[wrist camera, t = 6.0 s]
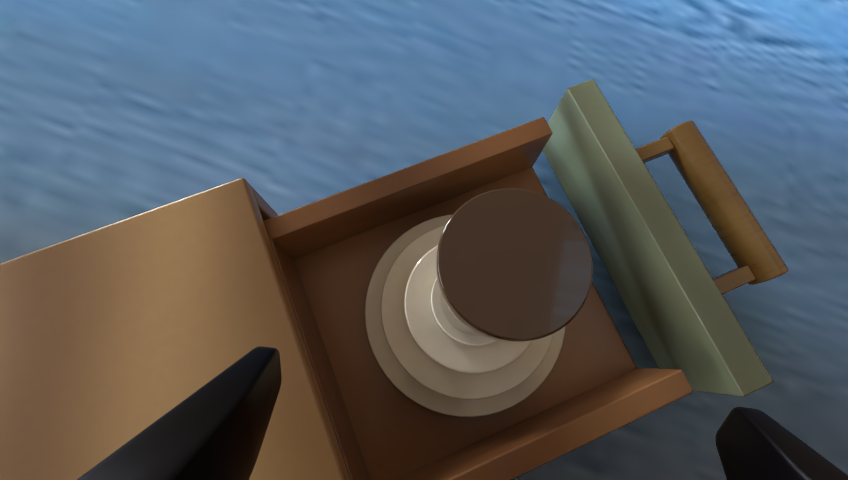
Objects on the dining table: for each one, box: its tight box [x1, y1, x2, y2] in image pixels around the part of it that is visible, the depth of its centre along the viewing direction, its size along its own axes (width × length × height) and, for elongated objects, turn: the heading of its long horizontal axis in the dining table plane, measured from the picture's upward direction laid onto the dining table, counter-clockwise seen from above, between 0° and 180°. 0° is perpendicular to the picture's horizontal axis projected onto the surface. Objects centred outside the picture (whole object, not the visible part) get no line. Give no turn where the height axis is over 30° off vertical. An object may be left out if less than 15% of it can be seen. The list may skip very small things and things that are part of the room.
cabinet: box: [0, 178, 350, 480], centre depth 15 cm, size 16×14×6 cm
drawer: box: [263, 79, 788, 480], centre depth 17 cm, size 19×12×4 cm, turn 113°
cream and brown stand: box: [365, 188, 593, 417], centre depth 13 cm, size 8×8×9 cm
